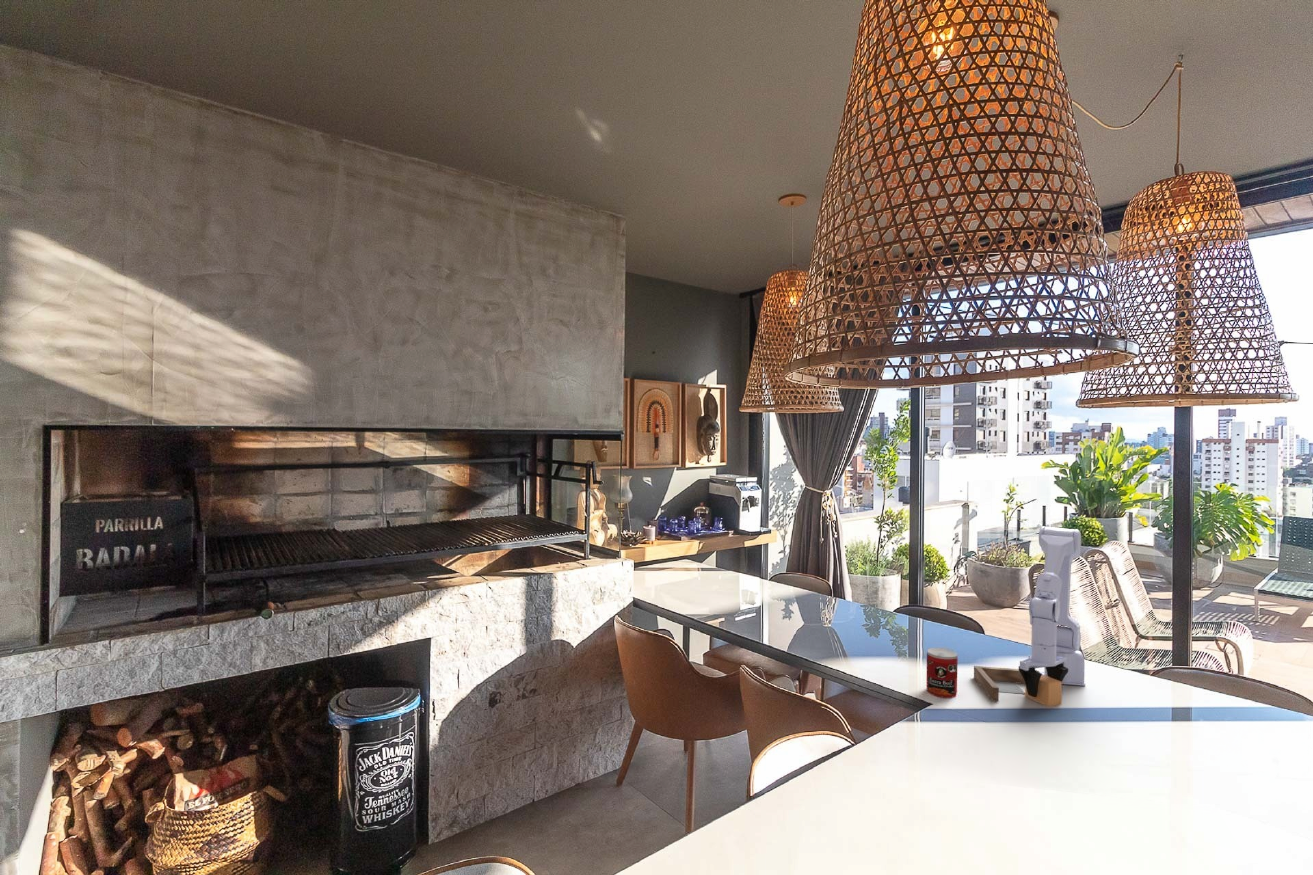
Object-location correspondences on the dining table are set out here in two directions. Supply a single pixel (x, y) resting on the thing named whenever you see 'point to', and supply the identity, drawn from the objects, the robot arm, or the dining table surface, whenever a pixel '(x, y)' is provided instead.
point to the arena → (996, 678)
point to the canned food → (942, 672)
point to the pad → (1009, 687)
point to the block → (1047, 691)
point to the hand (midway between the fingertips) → (1043, 694)
